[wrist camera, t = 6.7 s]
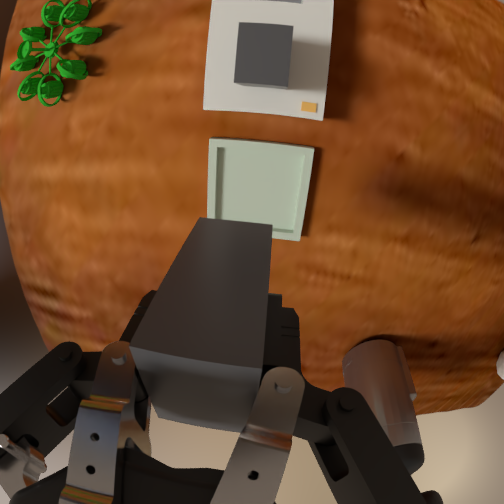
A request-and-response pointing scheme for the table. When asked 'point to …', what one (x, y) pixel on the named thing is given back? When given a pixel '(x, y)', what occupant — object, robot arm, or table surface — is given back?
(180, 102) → the table surface
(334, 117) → the table surface
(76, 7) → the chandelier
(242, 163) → the sage tray
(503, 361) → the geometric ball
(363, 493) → the robot arm
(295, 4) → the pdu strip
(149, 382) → the grey rectangular prism
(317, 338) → the table surface
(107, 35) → the table surface
